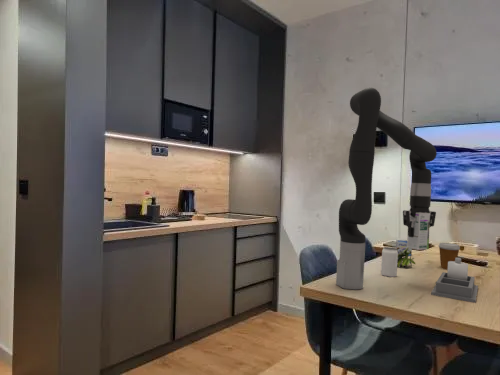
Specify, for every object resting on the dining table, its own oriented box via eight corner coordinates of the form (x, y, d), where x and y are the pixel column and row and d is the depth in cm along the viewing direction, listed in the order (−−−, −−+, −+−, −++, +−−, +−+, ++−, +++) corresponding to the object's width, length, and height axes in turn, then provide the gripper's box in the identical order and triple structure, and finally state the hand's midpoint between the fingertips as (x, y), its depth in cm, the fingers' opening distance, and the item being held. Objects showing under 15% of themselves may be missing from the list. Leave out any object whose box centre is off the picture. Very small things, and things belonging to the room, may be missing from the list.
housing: (475, 302, 131) (477, 268, 131) (431, 294, 139) (432, 262, 138) (477, 288, 151) (479, 258, 151) (439, 281, 159) (440, 253, 159)
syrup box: (418, 250, 147) (420, 212, 146) (406, 247, 152) (408, 211, 152) (428, 249, 149) (430, 212, 149) (416, 247, 154) (418, 211, 154)
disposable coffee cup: (454, 271, 180) (455, 246, 180) (433, 267, 187) (435, 243, 187) (462, 269, 187) (463, 245, 186) (442, 265, 194) (443, 242, 194)
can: (397, 277, 162) (399, 250, 162) (382, 276, 164) (383, 248, 164) (395, 274, 169) (396, 247, 169) (379, 273, 170) (381, 246, 170)
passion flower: (395, 275, 191) (395, 253, 197) (418, 274, 185) (417, 252, 192) (389, 265, 183) (389, 243, 190) (413, 264, 178) (412, 242, 184)
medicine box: (397, 255, 217) (397, 240, 217) (395, 254, 222) (396, 239, 221) (411, 256, 216) (412, 241, 216) (409, 255, 220) (410, 240, 220)
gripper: (428, 195, 156) (426, 235, 156) (398, 193, 152) (396, 235, 152) (442, 196, 149) (440, 238, 149) (411, 194, 145) (408, 238, 145)
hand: (418, 236), depth 150 cm, fingers closed on syrup box, 6 cm apart
